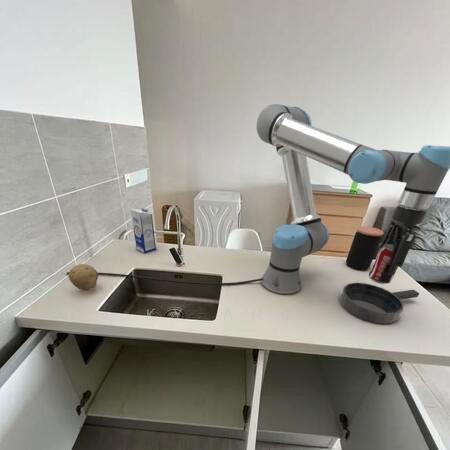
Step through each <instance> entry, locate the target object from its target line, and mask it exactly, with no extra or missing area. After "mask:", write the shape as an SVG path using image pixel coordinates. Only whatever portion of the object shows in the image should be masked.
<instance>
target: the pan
mask: <svg viewBox="0 0 450 450" xmlns="http://www.w3.org/2000/svg"><path fill="white" fill-rule="evenodd" d="M389 294H391V295H392V296H394V299H393V300H391V299H390V298H389V297H387V296H388V295H389ZM391 298H393V297H391ZM339 301H340V303H341V305H342V306H343V308H344V309H345V310H346V311H347V312H348V313H349V314H350V315H353V316H354V317H356V318H358V319H361V320H362V321H365V322H369V323H373V324H379V325H380V324H381V325H382V324H383V325H385V324H386V325H387V324H392V323H394V322H397V321H398V320H399V319H400V316H401V314H402V313H403V311H404V309H405V308H404V307H405V305H404V302H403V300H400V299H399V298H398V297H397V296H396V295H394V294H393V292H391V291H389V290H387V289H385V288H383V287H380V286H377V285H376V284H375V285H374V284H371V283H366V282H365V283H364V282H352V283H351V282H350V283H348V284H346V285H345V286H343V289H342V291H341V294H340V297H339Z"/></svg>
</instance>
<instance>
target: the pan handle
mask: <svg viewBox="0 0 450 450" xmlns="http://www.w3.org/2000/svg"><path fill="white" fill-rule="evenodd" d="M392 293H393V294H394V295H396V296H397V297H398V298H399V299H400V300H401V301H403V300H407V299H408V300H409V299H413V298H415V299H416V298H418V297H419V295H420V292H419V291H416V290H415V289H407V290H400V291H393V292H392ZM387 297H389V298H390V299H391V300H393V299H394V296H392V295H391V294H389V295H388V296H387ZM391 297H393V298H391Z"/></svg>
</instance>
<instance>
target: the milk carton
mask: <svg viewBox="0 0 450 450" xmlns="http://www.w3.org/2000/svg"><path fill="white" fill-rule="evenodd" d="M130 215H131V221H132V228H133V234H134V242H135V248H136V250H137V251H139V252H141V253H143V254H147V253H150V252H153V251H156V250H157V246H156V236H155V227H154V216H153V213H151V212H149V209H147V208H141V209H136V208H130Z"/></svg>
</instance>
